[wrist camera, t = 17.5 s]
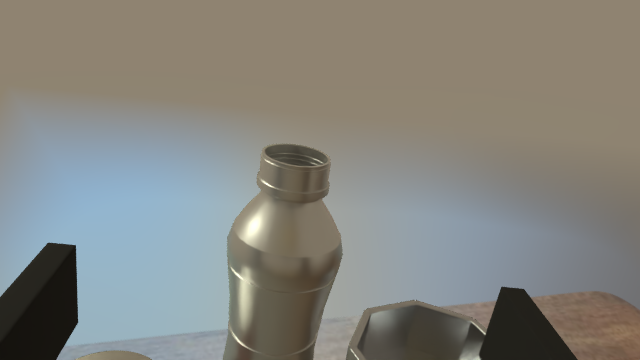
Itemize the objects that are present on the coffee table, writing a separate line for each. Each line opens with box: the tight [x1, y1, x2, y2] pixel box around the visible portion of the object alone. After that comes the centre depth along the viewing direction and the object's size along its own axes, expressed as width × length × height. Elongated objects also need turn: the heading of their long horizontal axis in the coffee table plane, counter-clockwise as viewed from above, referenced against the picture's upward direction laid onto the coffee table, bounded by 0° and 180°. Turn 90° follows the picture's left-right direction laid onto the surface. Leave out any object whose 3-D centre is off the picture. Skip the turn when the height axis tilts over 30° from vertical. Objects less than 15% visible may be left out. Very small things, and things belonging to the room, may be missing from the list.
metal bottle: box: [223, 144, 343, 360], centre depth 30 cm, size 6×7×20 cm
